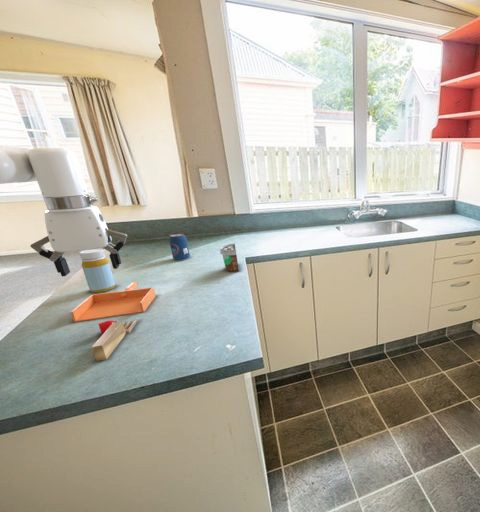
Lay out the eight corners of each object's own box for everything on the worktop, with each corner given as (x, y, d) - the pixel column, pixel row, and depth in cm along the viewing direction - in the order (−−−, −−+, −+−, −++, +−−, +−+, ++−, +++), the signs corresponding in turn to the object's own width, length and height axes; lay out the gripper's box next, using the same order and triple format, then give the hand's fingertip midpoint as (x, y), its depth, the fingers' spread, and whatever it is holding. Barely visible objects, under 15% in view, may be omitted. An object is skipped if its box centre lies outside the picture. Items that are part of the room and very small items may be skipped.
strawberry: (101, 334, 82) (118, 328, 85) (103, 336, 80) (120, 330, 83) (97, 322, 82) (114, 317, 84) (99, 324, 79) (116, 319, 82)
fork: (92, 362, 70) (86, 348, 69) (122, 324, 86) (118, 312, 85) (111, 358, 72) (106, 344, 70) (137, 322, 88) (134, 310, 86)
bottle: (116, 284, 114) (104, 246, 109) (115, 290, 109) (104, 251, 104) (91, 288, 110) (78, 250, 105) (89, 295, 105) (76, 255, 100)
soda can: (169, 260, 141) (164, 235, 138) (183, 256, 148) (178, 232, 144) (180, 261, 139) (175, 237, 136) (193, 257, 146) (189, 233, 142)
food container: (223, 265, 135) (219, 244, 131) (237, 263, 137) (234, 243, 134) (223, 274, 124) (219, 252, 121) (239, 272, 127) (235, 250, 124)
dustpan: (144, 312, 94) (141, 302, 93) (74, 322, 87) (70, 312, 86) (163, 285, 113) (161, 277, 112) (107, 292, 107) (105, 283, 106)
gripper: (120, 199, 77) (137, 260, 82) (24, 204, 69) (50, 272, 74) (113, 202, 71) (132, 269, 76) (7, 208, 63) (37, 283, 68)
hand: (92, 270), depth 75 cm, fingers open, 9 cm apart
